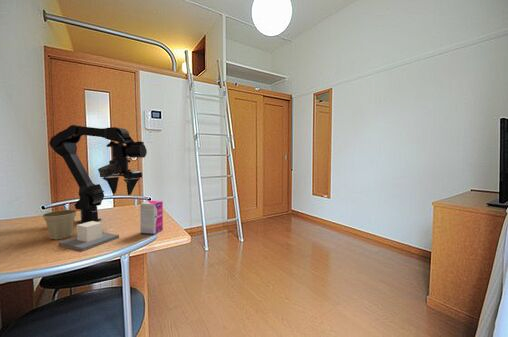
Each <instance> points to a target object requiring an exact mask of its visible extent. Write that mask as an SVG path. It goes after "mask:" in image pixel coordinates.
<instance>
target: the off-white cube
mask: <svg viewBox="0 0 508 337" xmlns="http://www.w3.org/2000/svg"><path fill="white" fill-rule="evenodd" d="M102 232H103V222H100V221H90V222H87V223H79V224H76V237H77V240H80V241H84V242H89V241H92V240H95V239H98V238H101V237H102Z"/></svg>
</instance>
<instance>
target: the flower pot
mask: <svg viewBox="0 0 508 337" xmlns="http://www.w3.org/2000/svg"><path fill="white" fill-rule="evenodd" d="M77 212H78V210H77V209H61V210H54V211H53V210H52V211H50V212H46V213H44V214H42V215H41V217H43V219H44V221H45V223H46V228H47V230H48V234H49V239H50V240H57V241H58V240H62V239H63V240H64V239H66V238H68V237H72V236H73V235H74V224H75V218H76V214H77Z"/></svg>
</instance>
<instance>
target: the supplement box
mask: <svg viewBox="0 0 508 337" xmlns="http://www.w3.org/2000/svg"><path fill="white" fill-rule="evenodd" d="M163 202H164V201H162V200H146V201H143V202H141V203H140V205H139V206H140V207H139V208H140V211H139V214H140V215H139V216H140V219H139V220H140V221H139V222H140V235H149V236H155V235H157V234H159V233H160V232H162V231H163V230H164V226H163V225H164V222H163V221H164V219H163V218H164V217H163V216H164V214H163V213H164V210H163V209H164V208H163Z"/></svg>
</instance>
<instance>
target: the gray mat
mask: <svg viewBox="0 0 508 337" xmlns="http://www.w3.org/2000/svg"><path fill="white" fill-rule="evenodd" d="M119 238H120V235H119V234H116V233H115V234H114V233H109V232H105V231H102V237H101V238H98V239H95V240H92V241H89V242H84V241H80V240H77V236H75V237H71V238H68V239H65V240H64V239H63V240H62V241H58V246H59V247H60V246H61V247H65V248H70V249H73V250H76V251H80V252H84V251H87V250H90V249H92V248H95V247H98V246H102V245H105V244H106V243H109V242H113V241H115V240H118V239H119Z"/></svg>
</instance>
